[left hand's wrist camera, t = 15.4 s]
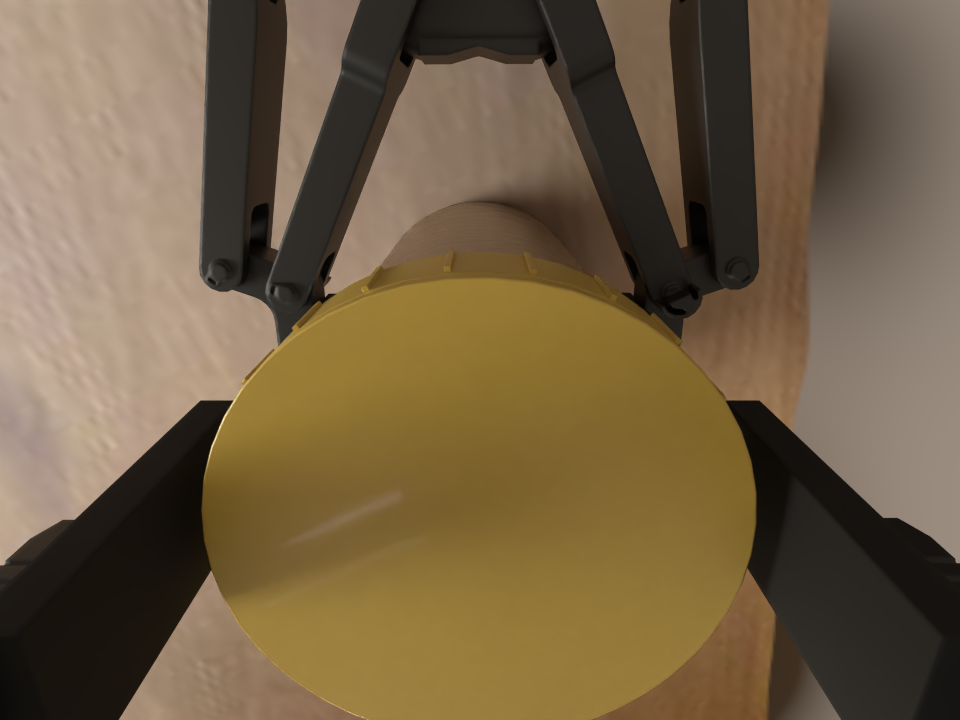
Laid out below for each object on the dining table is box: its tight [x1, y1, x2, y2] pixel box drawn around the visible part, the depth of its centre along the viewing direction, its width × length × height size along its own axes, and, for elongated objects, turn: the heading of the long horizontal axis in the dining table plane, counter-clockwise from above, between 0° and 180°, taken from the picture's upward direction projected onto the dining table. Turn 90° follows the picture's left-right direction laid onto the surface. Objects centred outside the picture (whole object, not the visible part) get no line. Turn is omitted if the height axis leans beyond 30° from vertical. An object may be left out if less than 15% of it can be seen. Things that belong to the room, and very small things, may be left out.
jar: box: [380, 202, 584, 273], centre depth 18 cm, size 9×9×15 cm
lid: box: [202, 249, 756, 720], centre depth 11 cm, size 10×10×2 cm
